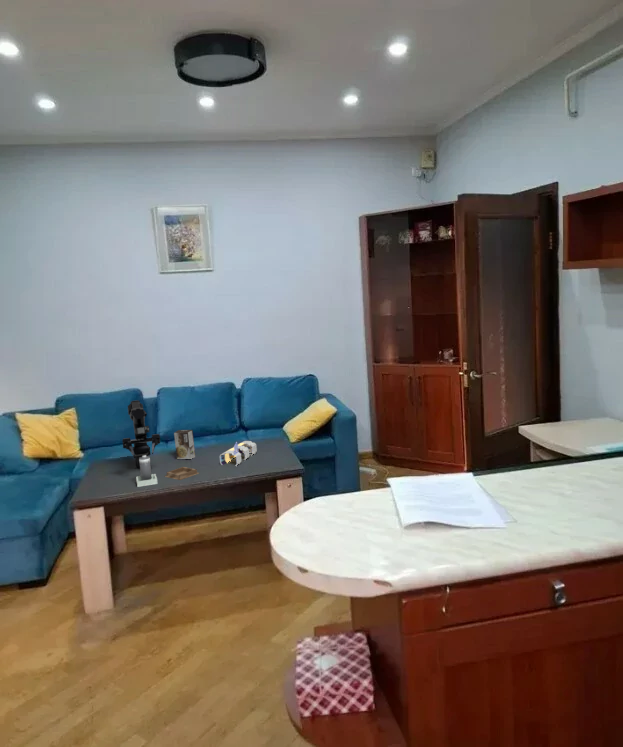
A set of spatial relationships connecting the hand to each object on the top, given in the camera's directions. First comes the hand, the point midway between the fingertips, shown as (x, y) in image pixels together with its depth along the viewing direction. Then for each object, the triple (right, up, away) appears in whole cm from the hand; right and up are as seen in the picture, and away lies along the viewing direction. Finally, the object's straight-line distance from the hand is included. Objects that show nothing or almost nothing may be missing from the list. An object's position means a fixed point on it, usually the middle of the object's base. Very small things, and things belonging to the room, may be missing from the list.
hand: (143, 455), depth 303 cm
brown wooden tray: (+19, -11, +5) cm, 22 cm away
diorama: (+46, -7, +28) cm, 54 cm away
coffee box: (+14, -7, +38) cm, 41 cm away
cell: (+3, -13, -5) cm, 14 cm away
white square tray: (+3, -14, -5) cm, 15 cm away
